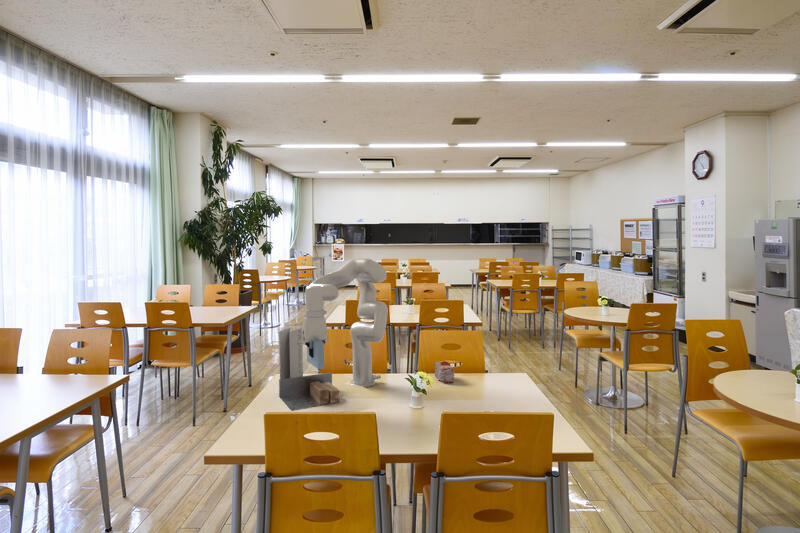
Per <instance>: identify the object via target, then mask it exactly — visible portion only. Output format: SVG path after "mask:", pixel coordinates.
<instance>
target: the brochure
mask: <svg viewBox="0 0 800 533" xmlns="http://www.w3.org/2000/svg"><path fill="white" fill-rule="evenodd" d="M302 327H303V326H299V327H298V328H295V329H293V326H289V327H287V328H284V329H281V330H279V331H278V342H279V343H278V344H279V346H278V348H279V351H278V352H279V379H286V378H293V377H301V376H304V364H303V363H304V355H303V353H304V352H303V345H304V344H302V343H300V341H301V339H302Z"/></svg>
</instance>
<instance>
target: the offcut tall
mask: <svg viewBox="0 0 800 533" xmlns="http://www.w3.org/2000/svg"><path fill="white" fill-rule="evenodd" d="M310 396H311V397H312V398H313V399H315V400H316V401H317V402H318V403H319V404H326V403H329V389H327V388H326V387H325V386H324V385H322V384H321V383H320V382H311V383H310Z"/></svg>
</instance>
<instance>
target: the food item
mask: <svg viewBox="0 0 800 533" xmlns="http://www.w3.org/2000/svg"><path fill="white" fill-rule="evenodd" d="M434 376H435V378H437V380H438V379H439V380H440V382H441V383H443V382H452V383H454V382H455V381H454V380H455V379H454V378H455V368H454V367H453V366H452V365H451V364H450V363H449V361H445V360H443V361H441V360H440V361H436V362H435V364H434ZM439 380H438V381H439Z"/></svg>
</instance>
